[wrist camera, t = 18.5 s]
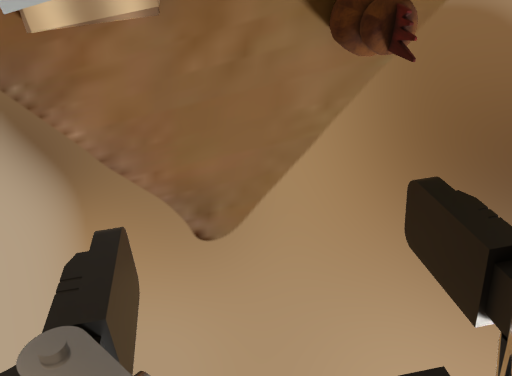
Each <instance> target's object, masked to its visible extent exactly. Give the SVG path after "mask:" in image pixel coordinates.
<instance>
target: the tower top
mask: <svg viewBox="0 0 512 376" xmlns="http://www.w3.org/2000/svg"><path fill="white" fill-rule="evenodd" d="M159 5H160V2H159V0H50V1H47V2H44V3H40V4H37V5H34V6H30V7H27V8H24V9H23V12H24V14H25V17H26V19H27V22H28V24H29V27H30V29H31V32H32V33H35V32H39V31H44V30H49V29H54V28H58V27H63V26H68V25H73V24H77V23H82V22H87V21H92V20H96V19H101V18H106V17H111V16H115V15H120V14H125V13H130V12H134V11H139V10H144V9H149V8H153V7H158V6H159Z"/></svg>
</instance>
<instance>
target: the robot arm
mask: <svg viewBox="0 0 512 376" xmlns="http://www.w3.org/2000/svg"><path fill="white" fill-rule="evenodd" d="M405 236H406V240H407V242H408V245H409V247H410V248H411V249H412V250H413V252H414V253H415V254H416V256H417V257H418V258H419V259H420V260H421V262H422V263H423V264H424V265H425V266H426V268H427V269H428V270H429V271H430V273H431V274H432V275H433V276H434V278H435V279H436V280H437V281H438V283H439V284H440V285H441V286H442V287H443V289H444V290H445V291H446V292H447V294H448V295H449V296H450V297H451V298H452V300H453V301H454V302H455V303H456V305H457V306H458V307H459V308H460V309H461V311H462V312H463V313H464V314H465V316H466V317H467V318H468V319H469V321H470V322H471V323H472V324H473V325H474V327H480V326H486V325H490V324H495V325H496V326H497V327H498V328H499V330H500V331H501V332H500V336H499V343H498V354H497V355H498V356H497V367H496V376H512V226H511V225H509V224H508V223H507V222H506V221H504V220H503V219H502V218H501V217H500V218H498V215H497V214H496V213H494V212H493V211H492V210H490V209H489V210H488V207H487V206H486V205H484V204H483V203H482V202H481V201H479V200H478V199H477V198H475V197H473V196H471V195H468V194H466V193H464V192H461V191H459V190H457V191H455V190H454V189H453V188H451V186H449V185H448V184H447V183H446V182H445V181H443V180H442V179H441V178H439V177H431V178H424V179H418V180H413V181H410V183H409V185H408V190H407V202H406V215H405ZM138 305H139V281H138V275H137V272H136V267H135V263H134V260H133V256H132V252H131V248H130V244H129V240H128V236H127V233H126V230H125V228H124V227H120V228H113V229H107V230H101V231H95V232H94V235H93V239H92V243H91V246H90V250H89V251H87V252H82V253H76V254H75V256H74V257H73V258H72V259H71V260H70V261H69V262H68V263H67V264H66V266H64V270H63V272H62V275H61V278H60V283H59V284H58V287H57V290H56V295H55V296H54V299H53V302H52V305H51V308H50V311H49V314H48V317H47V320H46V323H45V326H44V329H43V332H42V334H40V335H38V336H37V337H35V338H34V339H33V340H31V341H30V342H29V343H28V344H27V345H26V346H25V347H24V348H23V350H22V351H21V353H20V354H19V356H18V359H17V364H16V365H15V366H13V367H12V368H10V369H8V370H6V371H4V372H2V373H0V376H133V375H132V374H133V362H134V351H135V340H136V329H137V317H138ZM134 376H150V375H149V374H147V373H146V372H144V371H140V372H138V373H137V374H136V375H134ZM400 376H450V375H449V374H448V372H447V370H446V369H445V367H439V368H434V369H429V370H424V371H419V372H414V373H410V374H404V375H400Z"/></svg>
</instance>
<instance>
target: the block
mask: <svg viewBox="0 0 512 376" xmlns="http://www.w3.org/2000/svg"><path fill="white" fill-rule="evenodd" d="M47 1H50V0H0V7H1V9H2V11H3V13H4V14H7V13H10V12H14V11H17V10H20V9H24V8H27V7H30V6H34V5H37V4H40V3H44V2H47Z"/></svg>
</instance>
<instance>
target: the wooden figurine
mask: <svg viewBox="0 0 512 376" xmlns="http://www.w3.org/2000/svg"><path fill="white" fill-rule="evenodd" d="M417 24H418V16H417V11H416V9H415V7H414V5H413V3H412V2H411V1H410V0H337V1H336V2H335V4H334V6H333V9H332V12H331V18H330V24H329V26H330V30H331V33H332V36H333V38H334V40H335V41H336V42H338V43H339V44H340V45H341V46H342V47H343V48H345V49H346V50H348V51H350V52H352V53H354V54H356V55H358V56H373V55H376V54H379V55H389V54H396V55H398V56H400V57H402V58H405V59H407V60H409V61H411V62H415V59H416V58H415V57H414V55H413V54H412V53H411V52H410V50H409V49H408V48H407V45H408V44H409V43H410V41H416V40H417V37H416V36H415V32H416V30H417Z"/></svg>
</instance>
